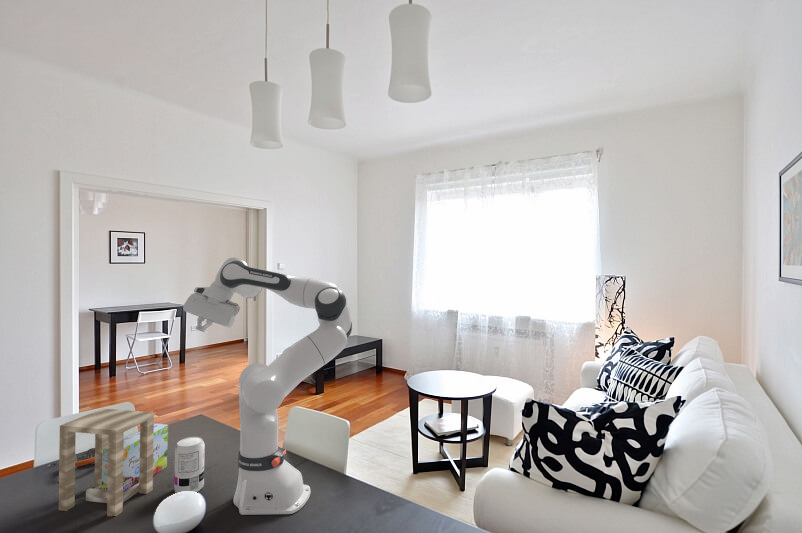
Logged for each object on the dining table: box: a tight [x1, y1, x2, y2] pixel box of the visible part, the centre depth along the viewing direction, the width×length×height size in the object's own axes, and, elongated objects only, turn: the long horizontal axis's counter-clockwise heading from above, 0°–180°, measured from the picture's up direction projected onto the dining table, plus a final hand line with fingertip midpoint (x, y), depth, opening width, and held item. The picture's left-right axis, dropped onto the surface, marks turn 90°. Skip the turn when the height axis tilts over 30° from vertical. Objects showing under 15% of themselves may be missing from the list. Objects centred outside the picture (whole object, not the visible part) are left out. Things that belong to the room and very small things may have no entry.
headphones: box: [47, 447, 95, 471], centre depth 142 cm, size 17×5×20 cm
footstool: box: [58, 408, 155, 517], centre depth 122 cm, size 18×15×24 cm
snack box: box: [101, 423, 169, 492], centre depth 131 cm, size 21×6×15 cm, turn 171°
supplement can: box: [173, 436, 206, 494], centre depth 128 cm, size 8×8×15 cm
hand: (199, 330), depth 151 cm, fingers closed
